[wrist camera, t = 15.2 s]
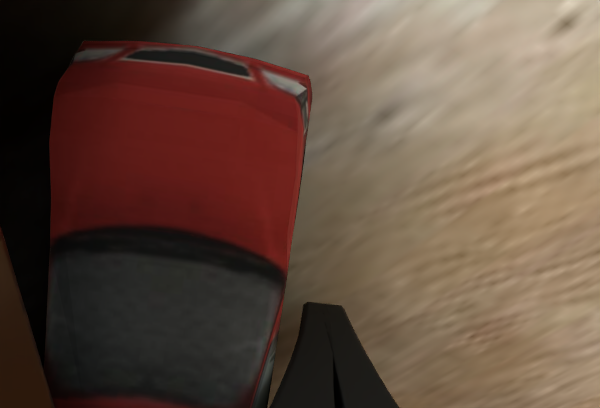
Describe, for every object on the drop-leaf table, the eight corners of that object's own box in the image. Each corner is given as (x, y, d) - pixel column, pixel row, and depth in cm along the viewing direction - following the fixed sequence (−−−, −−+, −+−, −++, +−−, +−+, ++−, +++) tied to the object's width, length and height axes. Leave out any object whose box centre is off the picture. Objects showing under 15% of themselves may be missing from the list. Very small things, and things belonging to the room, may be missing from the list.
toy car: (129, 421, 13) (37, 605, 9) (125, 27, 7) (-166, -33, 3) (257, 440, 14) (233, 627, 9) (351, 79, 8) (414, 101, 3)
